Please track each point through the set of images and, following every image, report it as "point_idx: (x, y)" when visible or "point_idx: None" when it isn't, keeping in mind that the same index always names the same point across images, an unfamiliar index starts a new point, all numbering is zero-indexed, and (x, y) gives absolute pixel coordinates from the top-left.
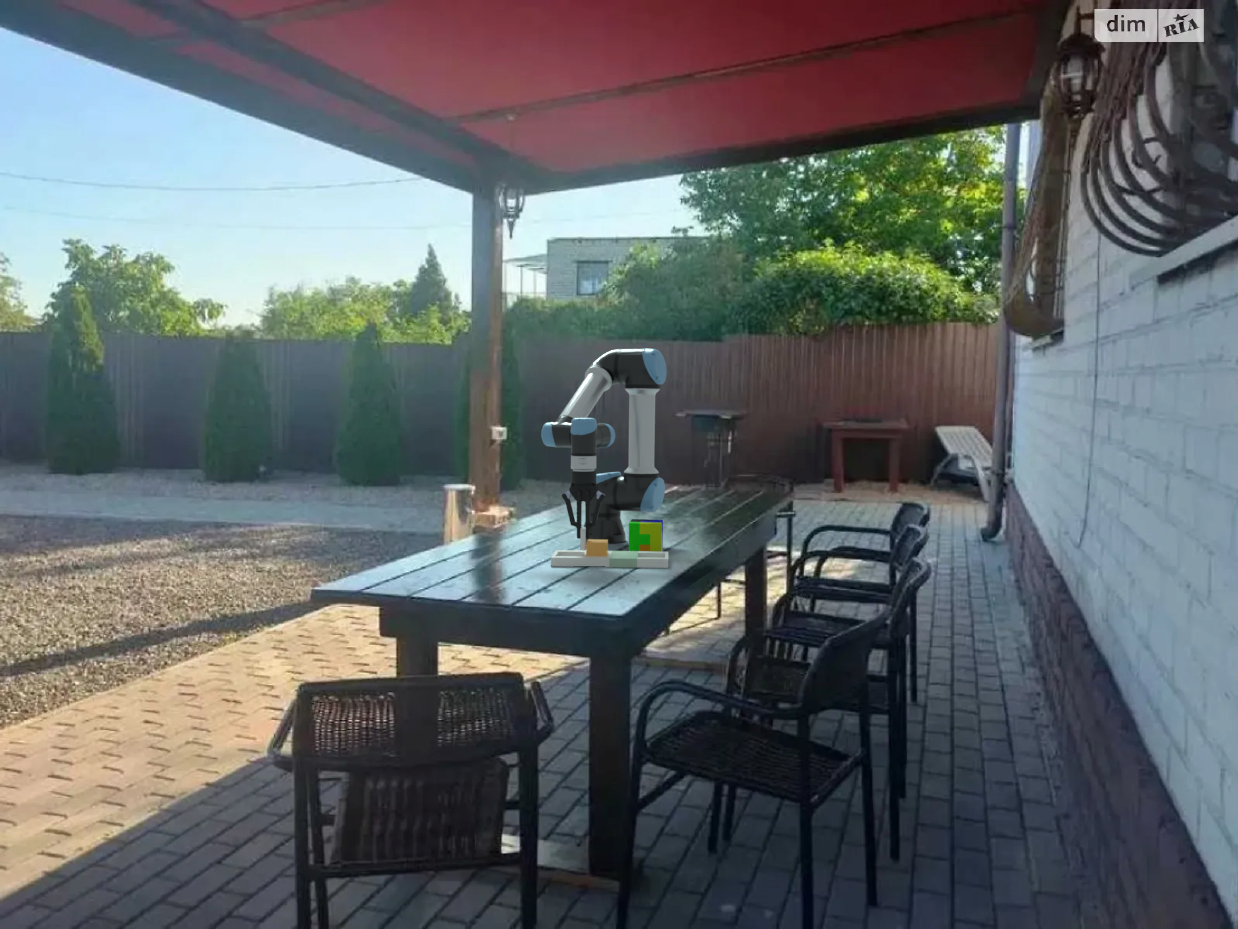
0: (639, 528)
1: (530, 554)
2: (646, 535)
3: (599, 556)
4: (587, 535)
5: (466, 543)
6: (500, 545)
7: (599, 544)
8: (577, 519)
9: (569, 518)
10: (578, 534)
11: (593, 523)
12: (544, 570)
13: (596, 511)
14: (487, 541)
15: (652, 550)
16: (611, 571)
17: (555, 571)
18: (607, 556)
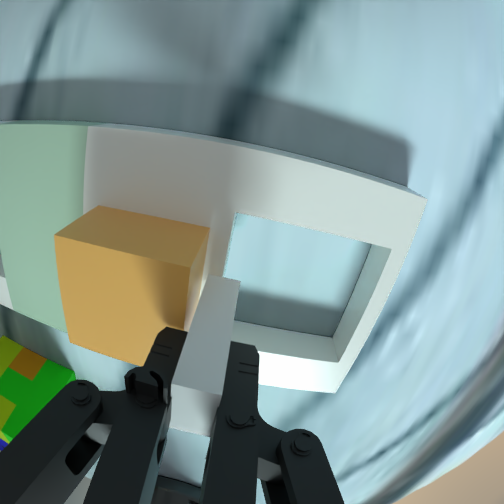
0: (8, 418)
1: (385, 418)
2: (2, 391)
3: (135, 197)
4: (170, 346)
5: (436, 475)
6: (394, 477)
7: (102, 239)
8: (247, 481)
9: (338, 493)
10: (244, 366)
11: (76, 396)
12: (448, 85)
13: (2, 485)
14: (395, 491)
15: (11, 353)
16: (120, 13)
17: (404, 42)
18: (95, 194)
